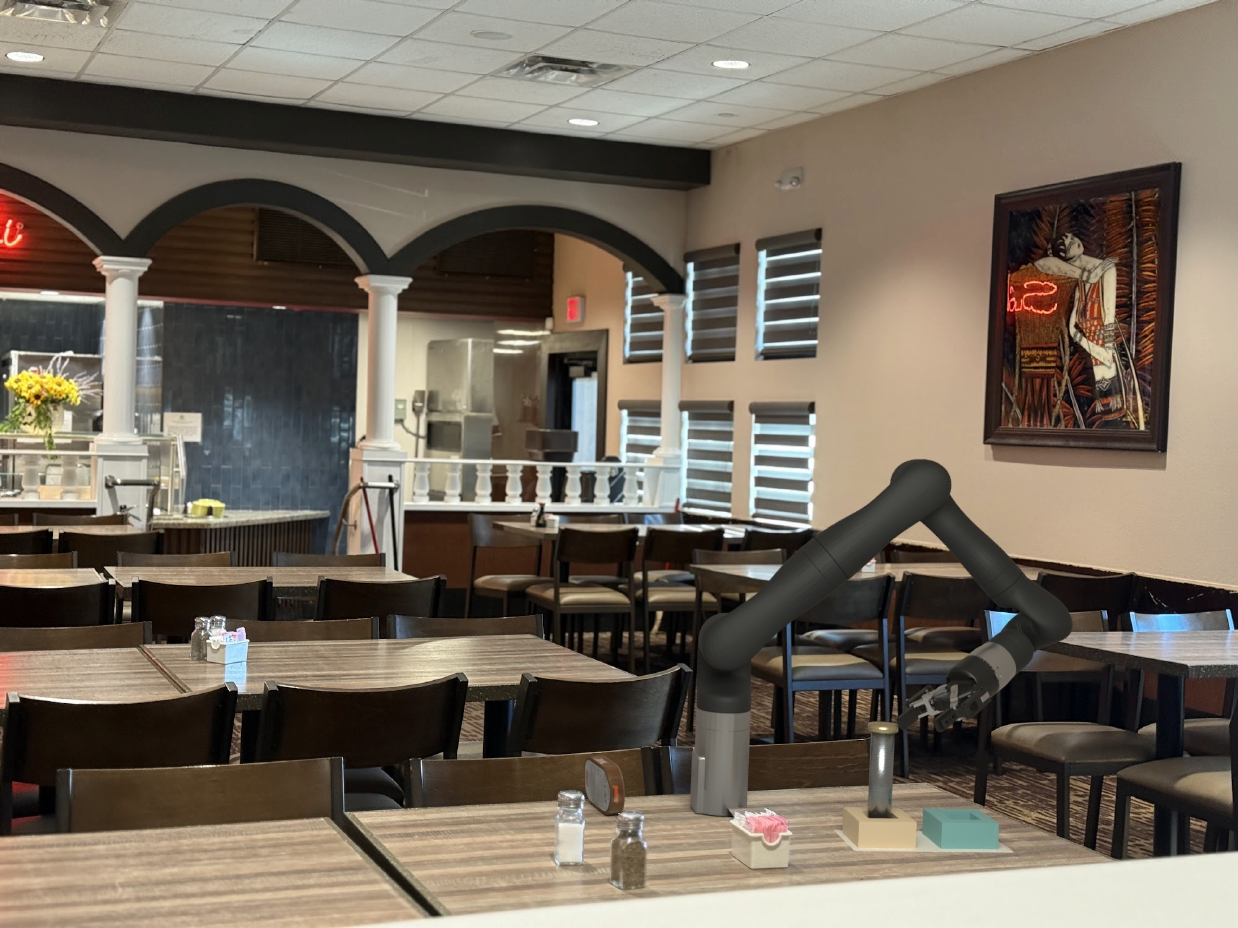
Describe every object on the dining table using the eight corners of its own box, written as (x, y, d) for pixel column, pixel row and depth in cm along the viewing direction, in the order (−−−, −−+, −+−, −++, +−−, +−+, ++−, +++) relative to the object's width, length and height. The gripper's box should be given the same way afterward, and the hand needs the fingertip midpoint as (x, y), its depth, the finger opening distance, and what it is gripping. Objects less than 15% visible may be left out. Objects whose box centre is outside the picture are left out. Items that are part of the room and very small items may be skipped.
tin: (625, 819, 237) (627, 768, 237) (607, 820, 236) (609, 768, 236) (597, 798, 251) (599, 749, 251) (580, 798, 250) (582, 750, 250)
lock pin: (868, 843, 222) (873, 726, 221) (859, 836, 226) (864, 721, 226) (897, 844, 222) (902, 727, 222) (888, 836, 227) (893, 721, 227)
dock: (853, 860, 217) (855, 823, 217) (833, 839, 229) (834, 804, 229) (1013, 861, 220) (1015, 825, 220) (985, 840, 232) (986, 806, 232)
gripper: (942, 654, 243) (878, 703, 234) (1004, 653, 230) (939, 706, 222) (959, 693, 244) (897, 744, 235) (1023, 694, 231) (959, 748, 223)
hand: (917, 725), depth 229 cm, fingers open, 8 cm apart
